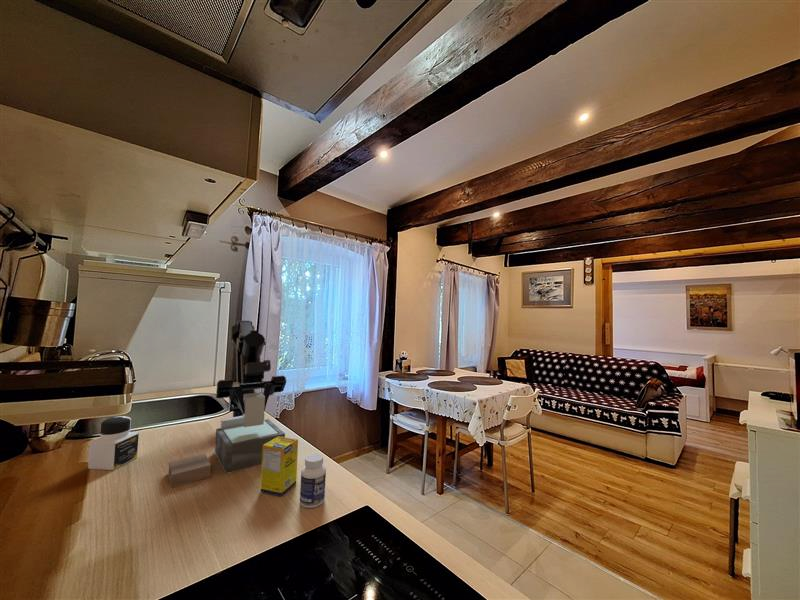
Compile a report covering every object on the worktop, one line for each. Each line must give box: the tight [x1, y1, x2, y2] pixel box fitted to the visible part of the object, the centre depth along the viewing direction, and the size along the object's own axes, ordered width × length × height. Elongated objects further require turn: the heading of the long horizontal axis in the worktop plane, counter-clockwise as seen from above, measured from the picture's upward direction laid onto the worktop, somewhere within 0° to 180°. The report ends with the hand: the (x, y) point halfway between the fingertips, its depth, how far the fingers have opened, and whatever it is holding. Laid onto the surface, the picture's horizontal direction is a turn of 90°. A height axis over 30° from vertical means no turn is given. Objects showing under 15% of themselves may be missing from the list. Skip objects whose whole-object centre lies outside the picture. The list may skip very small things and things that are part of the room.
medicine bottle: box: [87, 415, 139, 471], centre depth 84 cm, size 7×7×12 cm
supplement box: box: [260, 436, 299, 497], centre depth 75 cm, size 6×6×11 cm
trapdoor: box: [220, 416, 278, 444], centre depth 93 cm, size 15×12×3 cm
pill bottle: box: [299, 453, 327, 509], centre depth 70 cm, size 5×5×10 cm
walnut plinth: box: [168, 453, 212, 488], centre depth 79 cm, size 8×8×3 cm
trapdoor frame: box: [214, 418, 286, 474], centre depth 91 cm, size 15×15×7 cm
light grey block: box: [242, 391, 265, 427], centre depth 90 cm, size 5×5×8 cm
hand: (254, 412), depth 89 cm, fingers closed on light grey block, 5 cm apart
